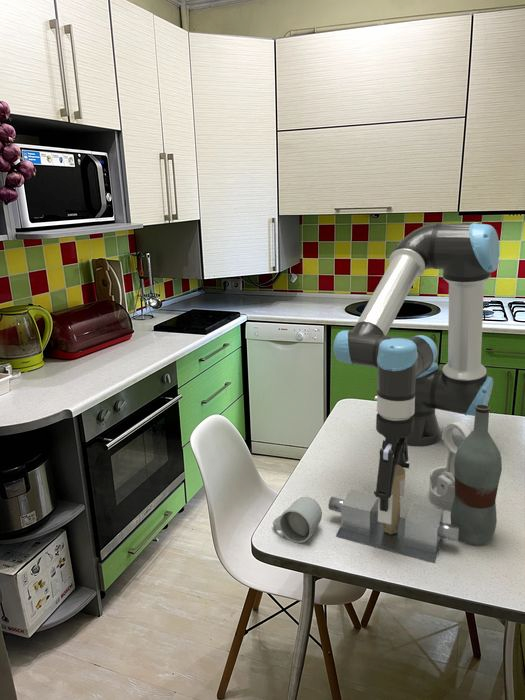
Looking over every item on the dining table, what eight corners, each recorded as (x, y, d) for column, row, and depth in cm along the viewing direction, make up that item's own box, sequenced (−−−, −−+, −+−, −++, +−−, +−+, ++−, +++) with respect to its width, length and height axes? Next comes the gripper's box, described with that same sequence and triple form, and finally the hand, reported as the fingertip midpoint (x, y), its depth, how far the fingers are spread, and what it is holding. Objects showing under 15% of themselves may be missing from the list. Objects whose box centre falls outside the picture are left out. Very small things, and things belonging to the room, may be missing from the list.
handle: (393, 521, 120) (395, 460, 116) (407, 537, 114) (410, 474, 110) (374, 524, 119) (375, 464, 115) (387, 541, 113) (388, 477, 109)
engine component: (451, 485, 135) (420, 494, 131) (457, 411, 130) (424, 418, 126) (484, 506, 126) (451, 517, 122) (491, 427, 120) (457, 436, 116)
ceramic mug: (324, 526, 120) (323, 496, 118) (311, 547, 113) (310, 515, 111) (282, 516, 125) (280, 487, 123) (266, 535, 118) (265, 505, 116)
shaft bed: (339, 505, 128) (339, 480, 126) (461, 534, 116) (463, 508, 114) (321, 532, 118) (321, 506, 116) (452, 568, 105) (455, 539, 104)
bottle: (448, 543, 113) (458, 412, 105) (449, 519, 121) (457, 396, 113) (496, 551, 110) (510, 417, 102) (493, 525, 118) (505, 400, 110)
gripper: (391, 392, 121) (388, 479, 127) (360, 433, 101) (358, 533, 107) (425, 397, 117) (420, 485, 123) (399, 440, 97) (395, 542, 104)
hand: (391, 507), depth 115 cm, fingers open, 11 cm apart
